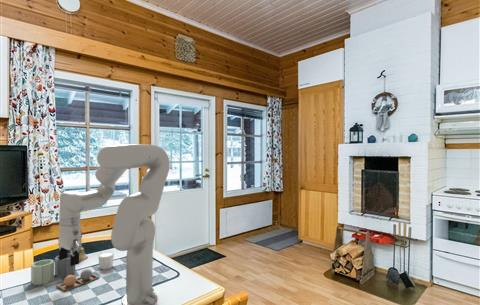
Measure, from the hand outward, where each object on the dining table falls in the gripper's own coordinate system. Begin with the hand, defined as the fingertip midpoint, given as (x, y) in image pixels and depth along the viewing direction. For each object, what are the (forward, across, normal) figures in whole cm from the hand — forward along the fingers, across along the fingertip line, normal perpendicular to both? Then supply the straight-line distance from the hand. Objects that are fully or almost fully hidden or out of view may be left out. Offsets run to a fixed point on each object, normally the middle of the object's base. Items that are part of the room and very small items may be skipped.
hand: (68, 261), depth 115 cm
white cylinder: (+11, +5, -20) cm, 23 cm away
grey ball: (+10, -1, -7) cm, 12 cm away
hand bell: (+12, +29, -19) cm, 36 cm away
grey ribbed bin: (+11, +14, -5) cm, 19 cm away
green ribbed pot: (+11, +14, +4) cm, 18 cm away
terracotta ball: (+10, -1, 0) cm, 10 cm away
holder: (+11, -1, -4) cm, 12 cm away
